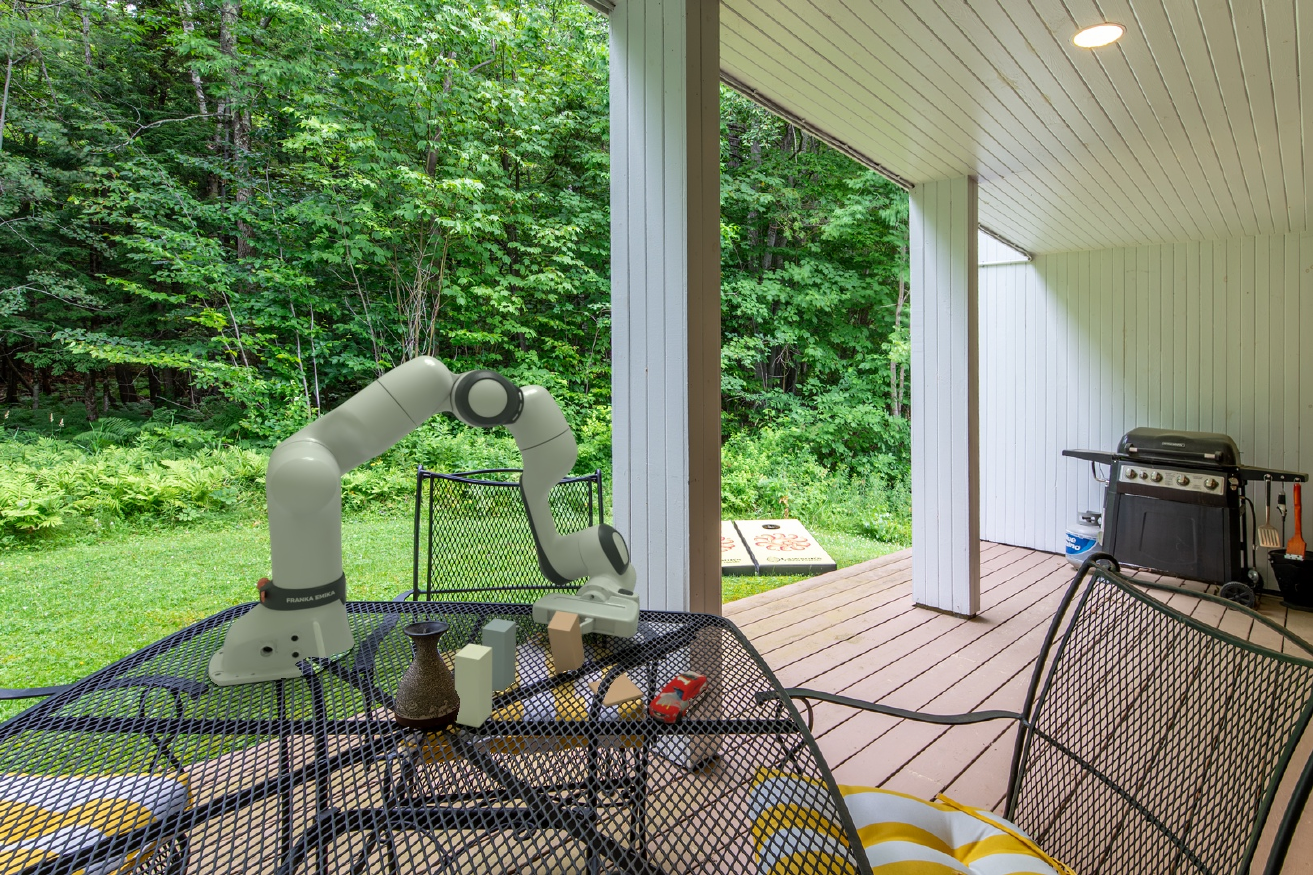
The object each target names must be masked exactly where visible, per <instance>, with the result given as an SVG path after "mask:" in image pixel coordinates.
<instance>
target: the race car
mask: <svg viewBox="0 0 1313 875" xmlns="http://www.w3.org/2000/svg"><path fill="white" fill-rule="evenodd" d="M708 687H709V684H708V679H707V677H706V676H705V675H703V674H701V673H698V672H695V671H692V670H689V671H685V672H682V673H679V674H678V675H676V677H674V678H673V679H671V681H669V682H668V683H667V684H666V685H665V686H664V687H663V686H661V687H660V690H661V692H659V693H658V694H657V696H655V697H654V699H652V700H651V702H650V703H649V714H650V717H652V718H653V719H654V720H656V721H658V722H661V723H664V724H665V723H666V724H679V722H680V721H681V720H682V718H683V717H685V715H687V714H686V712H687V711H686V710H687V708H688V707H689V705H690V702H689V700H690V698H692V699H694V698H695V699H696V697H697V696H698V695H701V694H702V693H703V692H704V691H706V690H707V688H708Z"/></svg>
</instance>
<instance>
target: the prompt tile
mask: <svg viewBox="0 0 1313 875" xmlns="http://www.w3.org/2000/svg"><path fill="white" fill-rule="evenodd" d="M619 675H620V676H619ZM619 675H618V676H619V677H618V678H616V679H615V680H614V682H613V683H612V684H611V685H610V688H609V690H608V692H607V693H606V696H605V698H604V700H603V703H602V705H603V706H604V707H605V708H608V707H611V706H615V705H619V704H623V703H625V702H626V703H627V702H629V701H633V700H637V699H640V698H644V695H645V694H644V692H643V691H641V690H640V688H639V687H638V686H637V685H636V684H635V683H634V682H633V681H632V680H631V679H630V678H629V677H628V676H627V675H626V673H625V674H624V673H623V674H619ZM602 680H603V679H600V680H596V681H593V682H588V683H587V687H588V688H589V689H590V690H591V691H592V693H593V694H594V696H596V695H597V691H598V687H599V685H600V683H601V681H602Z"/></svg>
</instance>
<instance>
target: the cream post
mask: <svg viewBox="0 0 1313 875" xmlns="http://www.w3.org/2000/svg"><path fill="white" fill-rule="evenodd" d="M455 690H456V691H457V694H458V696H459V698H460V708H459V712H458V715H457V721H456V723H455V724H461V725H464V726H469V727H475V728H478V729H479V728H480V727H481V726H482V725H483V724H484V723H485V722H486V720H487V719H488V718H489V717H490V716H491V714H492V713H493V692H492V647H486V646H482V644H474V643H467V645H465V646H464V647H462V649H460V651H458V652H457V653H455V655H454V691H455Z"/></svg>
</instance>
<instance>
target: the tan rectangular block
mask: <svg viewBox="0 0 1313 875" xmlns="http://www.w3.org/2000/svg"><path fill="white" fill-rule="evenodd" d="M547 633H548V634H547V635H548V638H549V639H548V640H549V643H550V648H551V654H552V658H553V659H552V660H553V666H554V671H555V674H560V673H559V672H563V671H568V670H577V669H578V668H580V667H581V668H582V666H583V664H584V661H585V660H586V659H585V658H586V657H585V653H584V652H585V651H584V645H583V638H582V635H581V630H580V624H579V617H578V614H573V613H567V612H561V611H556V613H555V615H554V616H553V618H552V620H551V622H550V624H549V625H548V626H547ZM581 668H580V669H581Z"/></svg>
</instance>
